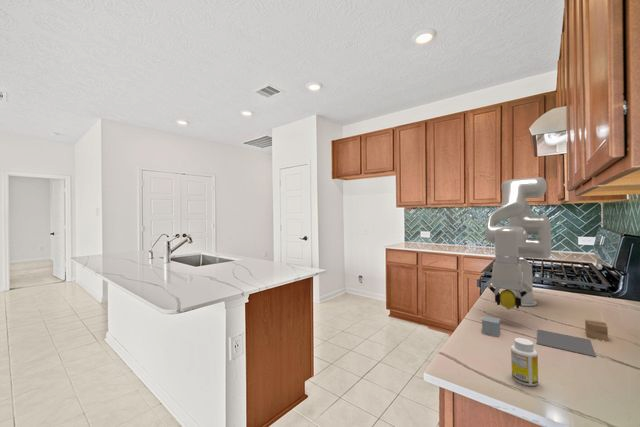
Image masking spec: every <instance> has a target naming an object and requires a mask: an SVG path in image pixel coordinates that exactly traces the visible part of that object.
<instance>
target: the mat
mask: <svg viewBox="0 0 640 427" xmlns="http://www.w3.org/2000/svg"><path fill="white" fill-rule="evenodd" d="M536 345H540V346H544V347H548V348H551V349H557V350H562V351H565V352H570V353H576V354H579V355H580V354H581V355H584V356H588V357H592V358H593V357H594V358H597V355H596V352H595V350H594V346H593V344H592V341H591V338H583V337H580V336H574V335H567V334H564V333H558V332H553V331H548V330H543V329H537V332H536Z"/></svg>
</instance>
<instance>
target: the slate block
mask: <svg viewBox="0 0 640 427" xmlns="http://www.w3.org/2000/svg"><path fill="white" fill-rule="evenodd" d="M481 328H482V330H481V334H482V333H484V334H483V335H486V334H487V335H488V336H492V337H497V338H500V335H501V318H497V317H491V316H486V315H483V318H482V320H481Z"/></svg>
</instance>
